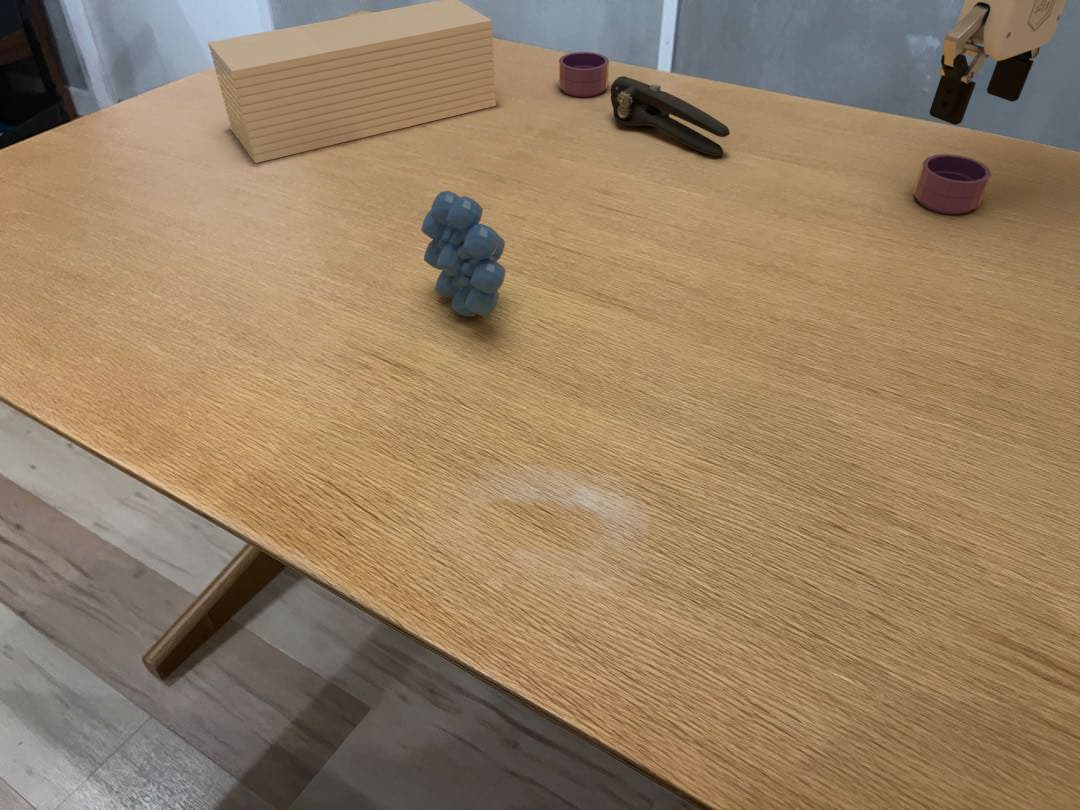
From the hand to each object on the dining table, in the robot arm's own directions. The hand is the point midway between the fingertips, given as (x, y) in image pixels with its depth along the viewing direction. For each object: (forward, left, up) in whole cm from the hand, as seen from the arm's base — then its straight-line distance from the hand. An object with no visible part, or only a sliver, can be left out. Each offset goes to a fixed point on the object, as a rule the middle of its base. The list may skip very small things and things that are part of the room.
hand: (973, 107), depth 81 cm
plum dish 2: (0, 0, -10) cm, 10 cm away
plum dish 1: (+34, -36, -10) cm, 50 cm away
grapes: (+51, +14, -10) cm, 53 cm away
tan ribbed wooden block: (+63, -30, -10) cm, 70 cm away
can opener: (+26, -20, -10) cm, 34 cm away
